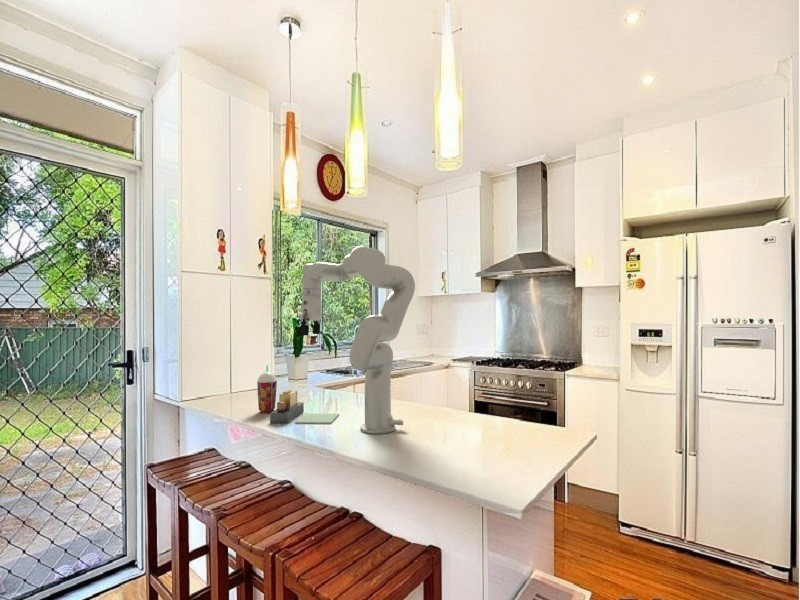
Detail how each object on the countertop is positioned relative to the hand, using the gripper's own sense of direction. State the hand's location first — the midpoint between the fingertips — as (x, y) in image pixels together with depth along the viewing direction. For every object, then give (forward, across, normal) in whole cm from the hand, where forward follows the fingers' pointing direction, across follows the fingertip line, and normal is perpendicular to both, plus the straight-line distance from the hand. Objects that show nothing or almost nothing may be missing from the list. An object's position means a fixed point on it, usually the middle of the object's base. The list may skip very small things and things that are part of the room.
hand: (310, 334), depth 169 cm
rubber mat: (+34, -4, -6) cm, 34 cm away
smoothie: (+35, +2, +22) cm, 41 cm away
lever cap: (+30, -4, +8) cm, 31 cm away
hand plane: (+34, -4, +8) cm, 35 cm away
